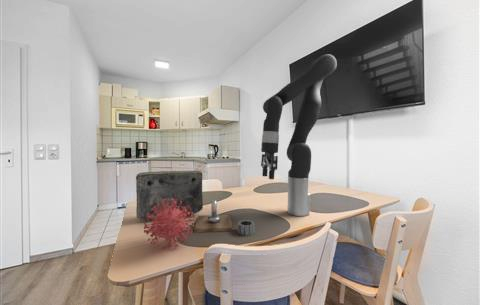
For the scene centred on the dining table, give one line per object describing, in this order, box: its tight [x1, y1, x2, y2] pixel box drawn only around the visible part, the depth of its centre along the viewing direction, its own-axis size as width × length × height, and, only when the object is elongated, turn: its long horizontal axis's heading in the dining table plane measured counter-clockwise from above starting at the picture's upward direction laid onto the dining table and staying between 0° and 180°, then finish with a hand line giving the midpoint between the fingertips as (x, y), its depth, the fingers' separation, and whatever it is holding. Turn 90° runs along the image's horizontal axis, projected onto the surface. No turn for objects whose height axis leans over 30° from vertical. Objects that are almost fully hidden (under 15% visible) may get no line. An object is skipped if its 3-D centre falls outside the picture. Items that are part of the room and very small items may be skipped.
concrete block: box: [135, 169, 204, 220], centre depth 88 cm, size 27×9×20 cm, turn 110°
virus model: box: [143, 198, 195, 250], centre depth 63 cm, size 15×15×15 cm
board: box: [193, 214, 233, 233], centre depth 81 cm, size 14×14×1 cm
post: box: [208, 199, 220, 224], centre depth 81 cm, size 5×5×8 cm
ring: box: [236, 219, 256, 237], centre depth 74 cm, size 6×6×3 cm
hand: (267, 177), depth 91 cm, fingers open, 8 cm apart
